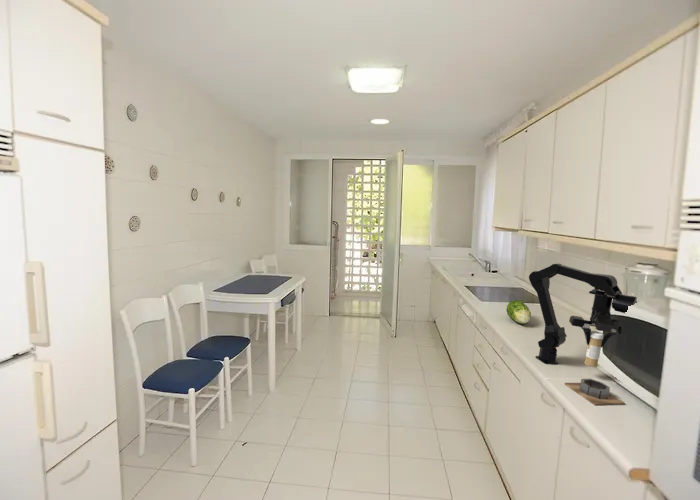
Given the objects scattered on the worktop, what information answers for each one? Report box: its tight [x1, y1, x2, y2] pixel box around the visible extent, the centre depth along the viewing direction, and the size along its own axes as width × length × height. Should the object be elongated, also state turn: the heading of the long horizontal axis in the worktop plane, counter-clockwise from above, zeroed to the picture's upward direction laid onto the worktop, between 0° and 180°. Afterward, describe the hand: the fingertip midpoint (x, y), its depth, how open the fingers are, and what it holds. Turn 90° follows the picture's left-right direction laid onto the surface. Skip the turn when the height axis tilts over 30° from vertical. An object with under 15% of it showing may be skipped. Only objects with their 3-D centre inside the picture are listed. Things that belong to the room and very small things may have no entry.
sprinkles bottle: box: [584, 330, 604, 368], centre depth 145 cm, size 5×5×13 cm
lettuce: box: [506, 299, 532, 324], centre depth 210 cm, size 12×21×11 cm, turn 171°
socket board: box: [564, 382, 626, 406], centre depth 133 cm, size 14×12×1 cm
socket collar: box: [579, 378, 611, 399], centre depth 133 cm, size 9×9×3 cm
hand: (594, 345), depth 145 cm, fingers closed on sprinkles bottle, 4 cm apart
